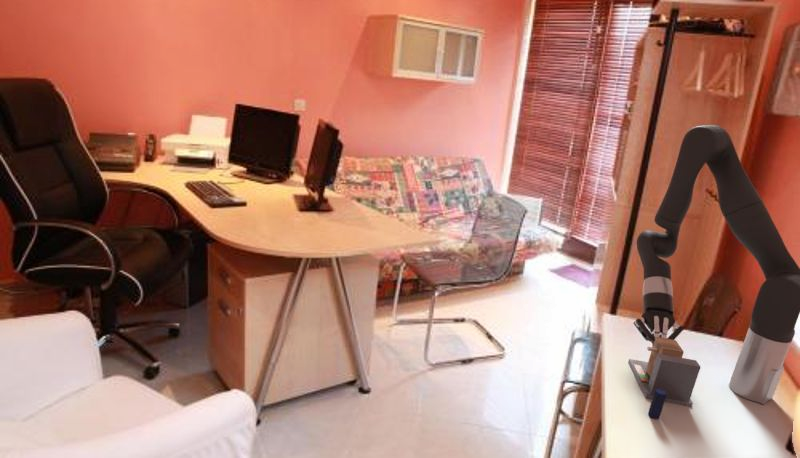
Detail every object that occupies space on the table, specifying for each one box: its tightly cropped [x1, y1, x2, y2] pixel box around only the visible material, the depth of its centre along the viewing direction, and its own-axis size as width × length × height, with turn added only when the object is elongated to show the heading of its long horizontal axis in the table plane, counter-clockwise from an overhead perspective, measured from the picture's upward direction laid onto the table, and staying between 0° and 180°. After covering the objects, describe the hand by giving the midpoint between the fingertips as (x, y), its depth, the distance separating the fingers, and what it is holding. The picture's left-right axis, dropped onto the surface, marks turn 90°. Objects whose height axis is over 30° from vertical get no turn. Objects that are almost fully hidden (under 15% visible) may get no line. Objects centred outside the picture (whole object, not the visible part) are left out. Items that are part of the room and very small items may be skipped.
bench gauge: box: [627, 354, 701, 407], centre depth 138 cm, size 17×11×11 cm, turn 172°
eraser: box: [648, 389, 666, 420], centre depth 125 cm, size 2×2×7 cm
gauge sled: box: [646, 337, 685, 377], centre depth 139 cm, size 6×7×10 cm
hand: (659, 357), depth 142 cm, fingers closed
